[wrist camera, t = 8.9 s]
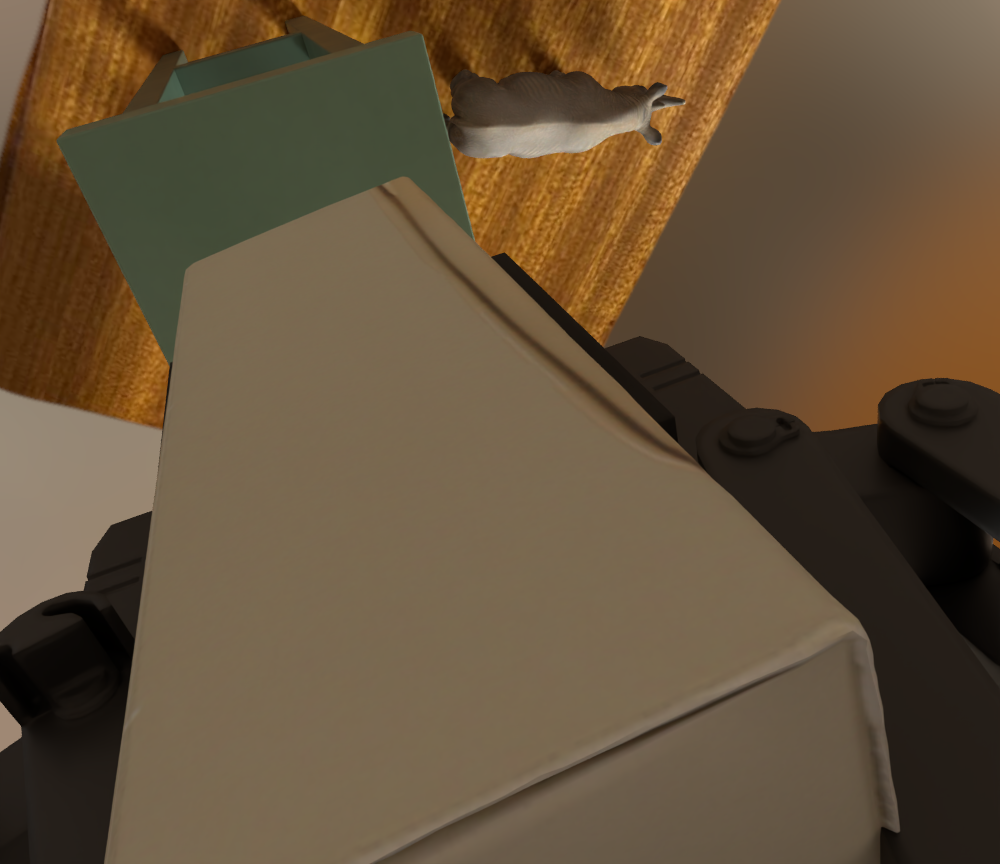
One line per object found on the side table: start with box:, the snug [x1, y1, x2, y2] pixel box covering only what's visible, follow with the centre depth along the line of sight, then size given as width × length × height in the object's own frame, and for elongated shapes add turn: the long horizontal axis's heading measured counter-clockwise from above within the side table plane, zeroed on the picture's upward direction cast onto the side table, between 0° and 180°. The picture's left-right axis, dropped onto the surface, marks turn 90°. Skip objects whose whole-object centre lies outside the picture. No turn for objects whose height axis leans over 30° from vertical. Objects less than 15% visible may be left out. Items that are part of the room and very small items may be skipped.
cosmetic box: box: [104, 177, 900, 864], centre depth 11 cm, size 6×4×12 cm
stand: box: [123, 16, 363, 113], centre depth 31 cm, size 7×7×25 cm
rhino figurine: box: [443, 69, 685, 158], centre depth 43 cm, size 4×14×6 cm, turn 90°
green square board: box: [57, 31, 475, 366], centre depth 20 cm, size 8×8×1 cm
